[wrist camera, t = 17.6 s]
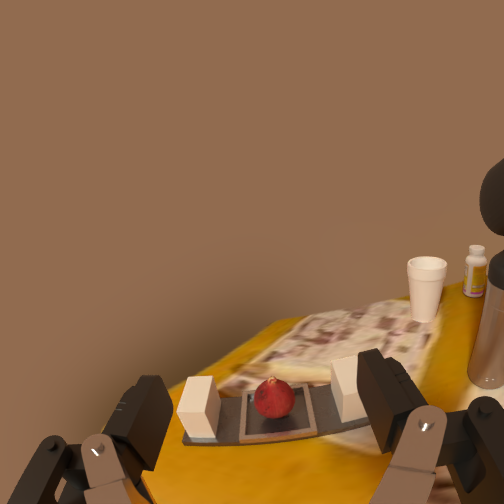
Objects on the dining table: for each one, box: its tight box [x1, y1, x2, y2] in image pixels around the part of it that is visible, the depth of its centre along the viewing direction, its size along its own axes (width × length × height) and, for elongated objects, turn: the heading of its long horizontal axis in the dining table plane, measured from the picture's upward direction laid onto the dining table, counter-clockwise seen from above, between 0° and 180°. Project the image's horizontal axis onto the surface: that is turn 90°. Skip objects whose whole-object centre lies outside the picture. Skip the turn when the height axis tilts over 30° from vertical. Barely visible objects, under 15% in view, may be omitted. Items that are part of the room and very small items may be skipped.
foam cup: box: [407, 257, 447, 323], centre depth 52 cm, size 10×9×13 cm
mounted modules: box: [177, 355, 367, 438], centre depth 35 cm, size 26×8×6 cm, turn 89°
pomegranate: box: [254, 376, 295, 419], centre depth 35 cm, size 6×6×8 cm
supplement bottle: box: [463, 245, 487, 298], centre depth 54 cm, size 7×7×13 cm
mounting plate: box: [182, 383, 371, 446], centre depth 36 cm, size 28×11×2 cm, turn 89°
